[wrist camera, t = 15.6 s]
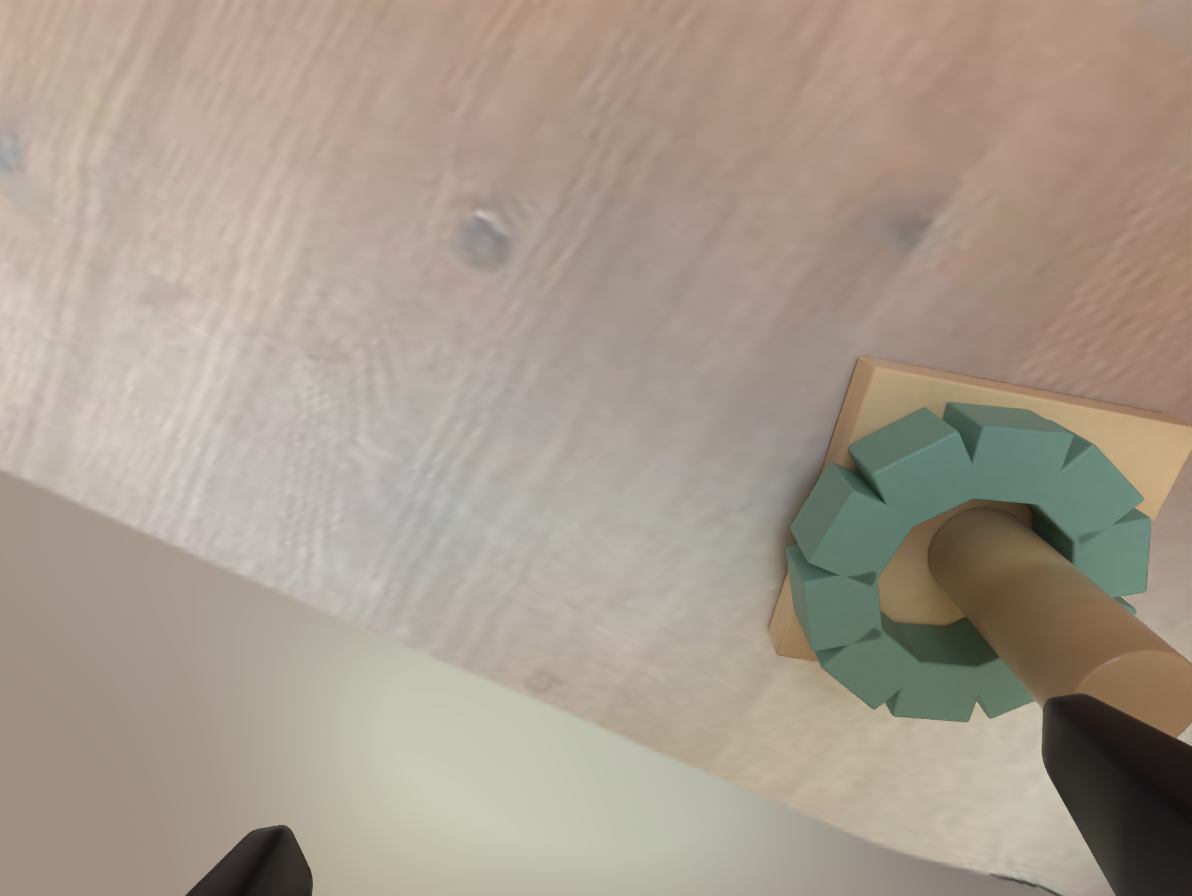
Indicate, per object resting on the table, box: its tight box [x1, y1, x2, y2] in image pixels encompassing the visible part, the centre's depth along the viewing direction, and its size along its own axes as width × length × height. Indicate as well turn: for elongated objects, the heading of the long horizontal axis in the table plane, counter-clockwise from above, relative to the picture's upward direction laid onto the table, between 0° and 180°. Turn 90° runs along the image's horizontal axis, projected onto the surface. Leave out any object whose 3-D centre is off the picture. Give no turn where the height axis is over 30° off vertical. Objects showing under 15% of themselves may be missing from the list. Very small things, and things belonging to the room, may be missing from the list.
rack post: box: [768, 356, 1192, 738], centre depth 17 cm, size 9×9×7 cm
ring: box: [785, 402, 1152, 722], centre depth 18 cm, size 8×8×2 cm
